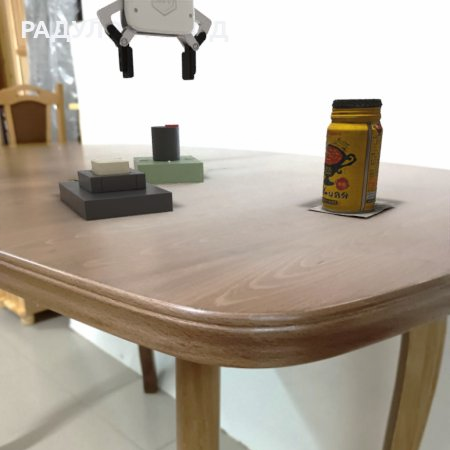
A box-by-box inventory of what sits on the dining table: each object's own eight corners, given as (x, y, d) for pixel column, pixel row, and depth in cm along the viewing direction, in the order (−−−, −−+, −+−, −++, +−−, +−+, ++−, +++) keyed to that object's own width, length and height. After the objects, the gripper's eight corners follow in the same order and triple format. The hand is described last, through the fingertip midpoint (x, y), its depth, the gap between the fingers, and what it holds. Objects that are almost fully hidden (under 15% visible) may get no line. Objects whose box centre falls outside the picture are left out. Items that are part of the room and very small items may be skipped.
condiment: (306, 210, 57) (313, 98, 52) (340, 199, 63) (348, 98, 58) (366, 219, 52) (379, 98, 48) (395, 206, 58) (409, 98, 54)
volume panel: (134, 175, 84) (133, 156, 83) (191, 173, 86) (191, 154, 85) (139, 185, 74) (137, 163, 73) (203, 182, 76) (203, 161, 75)
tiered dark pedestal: (60, 199, 64) (56, 168, 62) (134, 192, 68) (132, 163, 66) (86, 221, 52) (82, 183, 51) (173, 211, 56) (171, 176, 55)
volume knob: (154, 161, 76) (152, 125, 74) (151, 158, 80) (149, 124, 78) (182, 160, 77) (180, 125, 75) (178, 157, 81) (176, 123, 79)
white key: (92, 174, 59) (90, 159, 59) (121, 172, 61) (119, 158, 60) (100, 178, 56) (98, 163, 56) (130, 176, 58) (128, 161, 57)
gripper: (99, -76, 60) (110, 76, 67) (222, -55, 68) (221, 80, 75) (84, -60, 66) (95, 78, 73) (198, -42, 74) (199, 81, 81)
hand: (159, 78), depth 74 cm, fingers open, 9 cm apart
